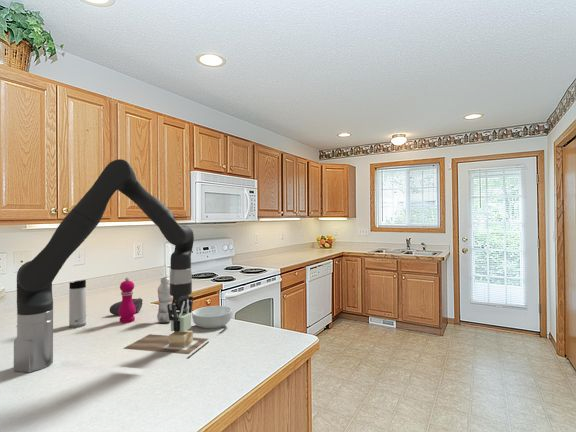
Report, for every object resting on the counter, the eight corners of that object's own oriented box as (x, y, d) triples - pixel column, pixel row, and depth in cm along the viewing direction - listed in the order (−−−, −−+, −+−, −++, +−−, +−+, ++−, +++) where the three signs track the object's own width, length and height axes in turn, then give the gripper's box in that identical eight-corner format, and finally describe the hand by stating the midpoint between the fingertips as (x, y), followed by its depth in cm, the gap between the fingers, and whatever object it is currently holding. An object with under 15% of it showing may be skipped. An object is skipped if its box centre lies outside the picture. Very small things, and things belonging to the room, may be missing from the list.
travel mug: (78, 328, 146) (78, 281, 147) (65, 327, 148) (65, 281, 148) (90, 323, 153) (90, 279, 153) (77, 323, 154) (77, 278, 154)
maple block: (184, 347, 118) (184, 336, 119) (168, 346, 120) (168, 335, 120) (192, 341, 124) (192, 330, 124) (178, 340, 126) (178, 329, 126)
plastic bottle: (167, 319, 159) (167, 276, 159) (175, 321, 154) (175, 277, 155) (154, 322, 154) (154, 278, 154) (162, 325, 150) (162, 279, 150)
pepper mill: (114, 322, 155) (114, 278, 155) (128, 318, 161) (128, 275, 161) (125, 324, 151) (125, 279, 152) (139, 320, 158) (139, 276, 158)
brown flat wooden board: (188, 358, 113) (188, 353, 113) (122, 352, 119) (122, 348, 119) (208, 342, 128) (208, 338, 128) (149, 338, 133) (149, 334, 133)
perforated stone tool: (109, 317, 163) (109, 302, 163) (109, 314, 168) (109, 300, 168) (143, 313, 170) (143, 299, 170) (142, 310, 175) (142, 297, 175)
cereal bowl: (190, 323, 152) (190, 307, 152) (227, 319, 158) (227, 304, 158) (194, 335, 136) (194, 317, 136) (235, 330, 142) (235, 313, 142)
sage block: (183, 331, 119) (183, 317, 119) (170, 331, 120) (170, 316, 120) (190, 327, 124) (190, 313, 124) (178, 326, 125) (178, 313, 125)
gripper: (181, 277, 130) (181, 322, 130) (159, 284, 116) (159, 334, 116) (199, 278, 128) (200, 323, 128) (179, 285, 115) (179, 336, 114)
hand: (181, 328), depth 122 cm, fingers closed on sage block, 5 cm apart
